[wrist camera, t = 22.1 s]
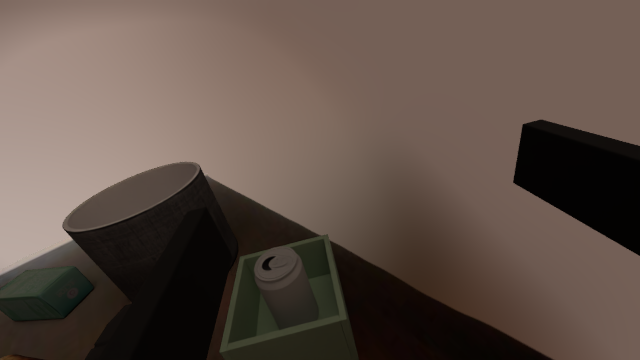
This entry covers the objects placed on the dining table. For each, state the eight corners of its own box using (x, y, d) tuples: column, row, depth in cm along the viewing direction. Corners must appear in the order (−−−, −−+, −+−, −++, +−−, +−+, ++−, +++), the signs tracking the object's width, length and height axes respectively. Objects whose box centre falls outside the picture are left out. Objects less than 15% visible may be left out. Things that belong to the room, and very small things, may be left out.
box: (65, 319, 50) (37, 294, 46) (13, 322, 52) (-17, 299, 49) (97, 287, 56) (74, 263, 53) (49, 291, 59) (25, 269, 55)
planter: (115, 292, 53) (45, 218, 44) (201, 225, 69) (163, 159, 59) (170, 334, 41) (91, 245, 32) (259, 242, 57) (223, 164, 48)
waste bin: (337, 272, 45) (327, 234, 41) (359, 361, 32) (347, 318, 28) (258, 292, 45) (240, 256, 41) (248, 390, 32) (219, 352, 28)
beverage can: (283, 299, 41) (259, 246, 36) (321, 297, 40) (302, 241, 34) (274, 340, 36) (243, 284, 30) (317, 338, 35) (294, 280, 29)
